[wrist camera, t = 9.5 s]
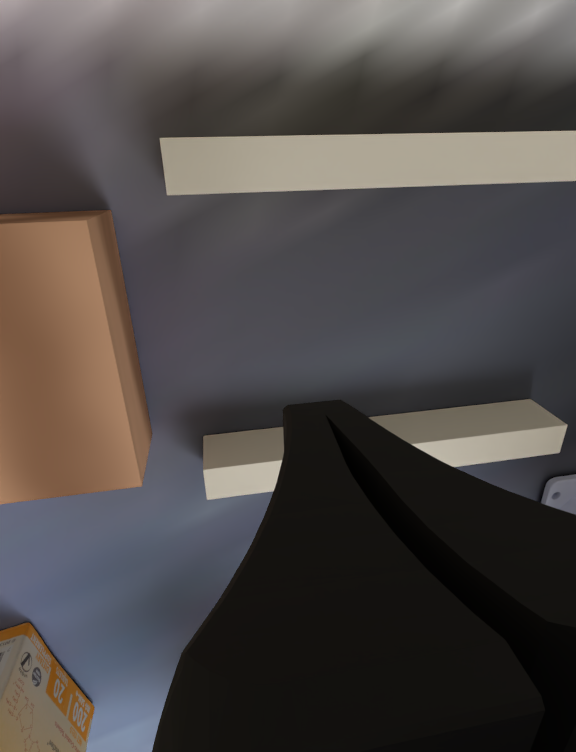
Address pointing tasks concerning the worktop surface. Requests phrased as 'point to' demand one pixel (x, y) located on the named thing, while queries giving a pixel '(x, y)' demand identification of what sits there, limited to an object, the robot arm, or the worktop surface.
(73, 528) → the worktop surface
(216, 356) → the worktop surface
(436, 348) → the worktop surface
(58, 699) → the supplement box
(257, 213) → the worktop surface
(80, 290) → the block
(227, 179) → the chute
